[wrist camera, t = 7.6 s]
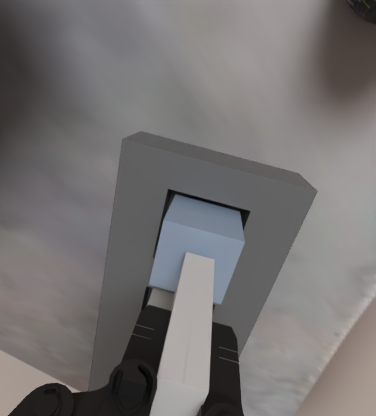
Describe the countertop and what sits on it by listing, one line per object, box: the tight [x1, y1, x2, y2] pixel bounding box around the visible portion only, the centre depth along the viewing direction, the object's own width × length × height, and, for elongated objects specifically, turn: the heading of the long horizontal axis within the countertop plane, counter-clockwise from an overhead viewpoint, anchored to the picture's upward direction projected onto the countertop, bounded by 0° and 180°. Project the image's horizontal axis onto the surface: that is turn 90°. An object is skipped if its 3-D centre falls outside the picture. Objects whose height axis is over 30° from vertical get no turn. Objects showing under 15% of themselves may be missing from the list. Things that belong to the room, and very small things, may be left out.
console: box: [88, 132, 318, 392], centre depth 23 cm, size 12×26×4 cm, turn 166°
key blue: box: [149, 195, 245, 304], centre depth 16 cm, size 4×4×4 cm
